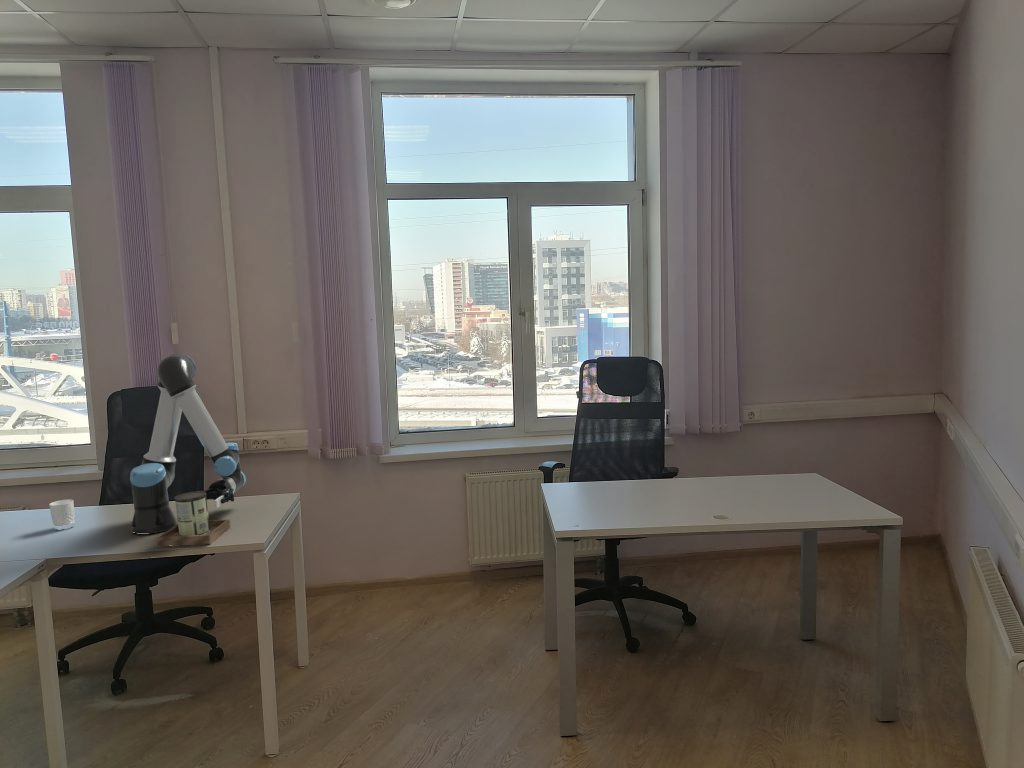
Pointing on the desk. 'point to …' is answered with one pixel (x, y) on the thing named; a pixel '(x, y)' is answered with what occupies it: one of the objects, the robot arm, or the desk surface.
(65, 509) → the white cup
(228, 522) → the holder tray
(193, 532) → the coffee can
